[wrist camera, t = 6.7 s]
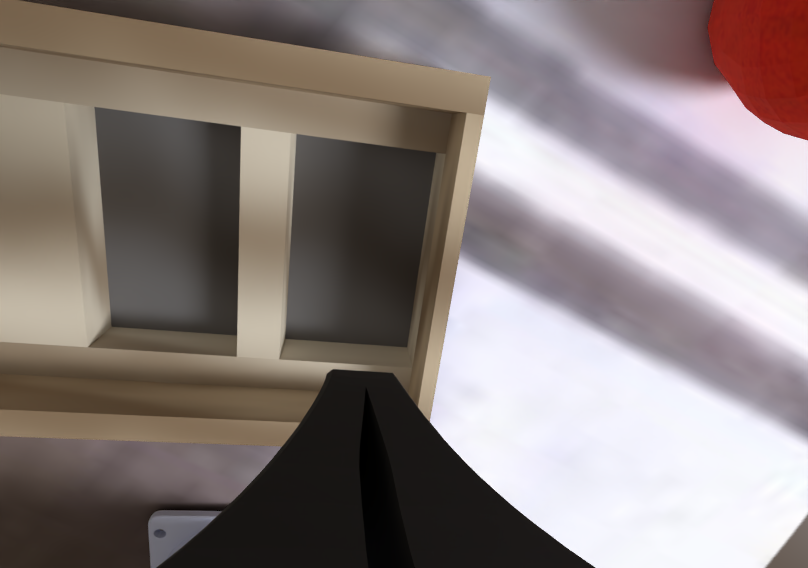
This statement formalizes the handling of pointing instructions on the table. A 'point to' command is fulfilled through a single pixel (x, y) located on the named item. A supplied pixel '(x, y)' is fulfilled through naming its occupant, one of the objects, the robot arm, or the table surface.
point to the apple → (765, 58)
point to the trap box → (217, 226)
